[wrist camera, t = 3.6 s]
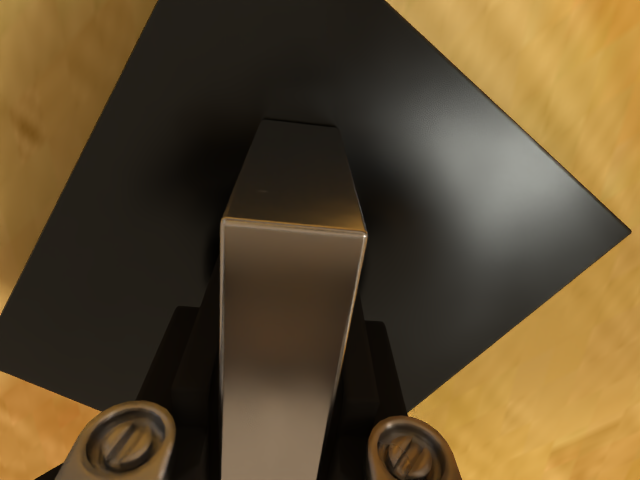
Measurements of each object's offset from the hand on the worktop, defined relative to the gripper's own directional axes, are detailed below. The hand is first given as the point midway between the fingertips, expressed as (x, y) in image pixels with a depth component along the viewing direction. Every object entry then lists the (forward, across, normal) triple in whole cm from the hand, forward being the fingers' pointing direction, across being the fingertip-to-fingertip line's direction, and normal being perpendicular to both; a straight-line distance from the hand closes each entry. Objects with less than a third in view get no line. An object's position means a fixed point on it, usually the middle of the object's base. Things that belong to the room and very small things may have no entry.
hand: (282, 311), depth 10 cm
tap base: (+3, 0, 0) cm, 3 cm away
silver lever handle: (0, 0, 0) cm, 0 cm away
